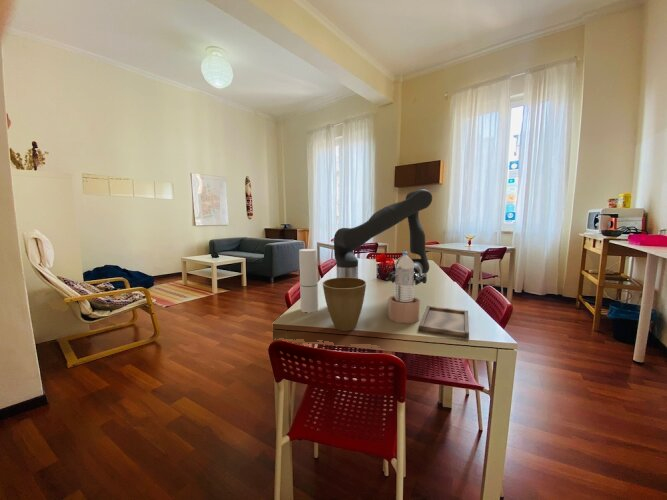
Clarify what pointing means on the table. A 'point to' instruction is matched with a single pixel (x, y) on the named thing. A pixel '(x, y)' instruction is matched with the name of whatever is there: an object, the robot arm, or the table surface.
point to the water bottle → (404, 279)
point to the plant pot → (344, 301)
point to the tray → (445, 322)
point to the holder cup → (403, 310)
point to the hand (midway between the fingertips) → (404, 281)
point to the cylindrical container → (308, 280)
